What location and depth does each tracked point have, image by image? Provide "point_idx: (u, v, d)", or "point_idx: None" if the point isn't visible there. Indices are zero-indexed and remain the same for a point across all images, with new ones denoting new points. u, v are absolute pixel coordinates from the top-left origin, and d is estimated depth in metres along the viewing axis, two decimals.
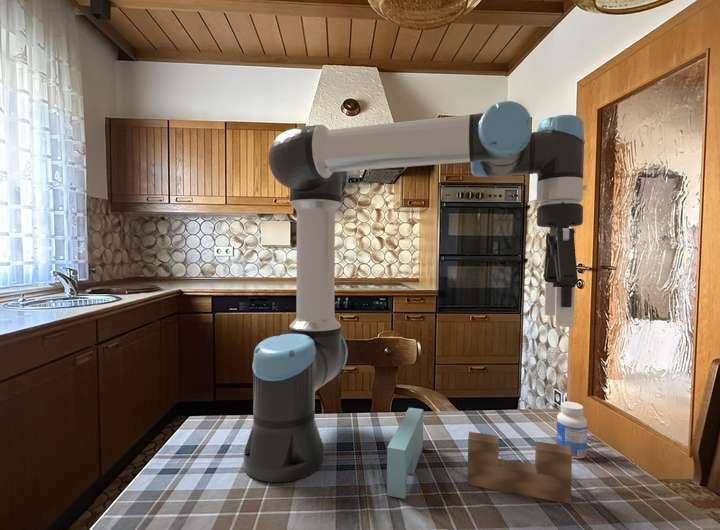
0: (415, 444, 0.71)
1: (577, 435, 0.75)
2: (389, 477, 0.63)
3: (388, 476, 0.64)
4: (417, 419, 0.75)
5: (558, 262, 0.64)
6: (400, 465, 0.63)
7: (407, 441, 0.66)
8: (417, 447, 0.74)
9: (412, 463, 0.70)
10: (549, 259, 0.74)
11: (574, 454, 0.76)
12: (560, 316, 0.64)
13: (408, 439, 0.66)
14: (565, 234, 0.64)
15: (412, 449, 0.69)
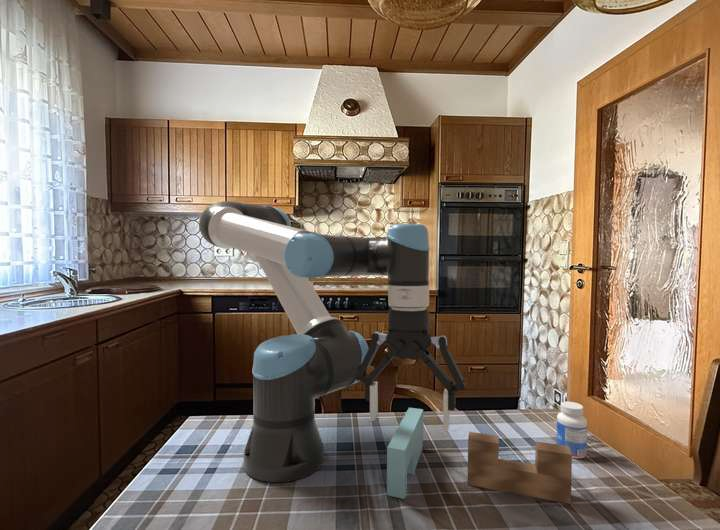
0: (415, 444, 0.71)
1: (577, 435, 0.75)
2: (389, 477, 0.63)
3: (388, 476, 0.64)
4: (417, 419, 0.75)
5: (371, 360, 0.75)
6: (400, 465, 0.63)
7: (407, 441, 0.66)
8: (417, 447, 0.74)
9: (412, 463, 0.70)
10: None
11: (574, 454, 0.76)
12: None
13: (408, 439, 0.66)
14: None
15: (412, 449, 0.69)
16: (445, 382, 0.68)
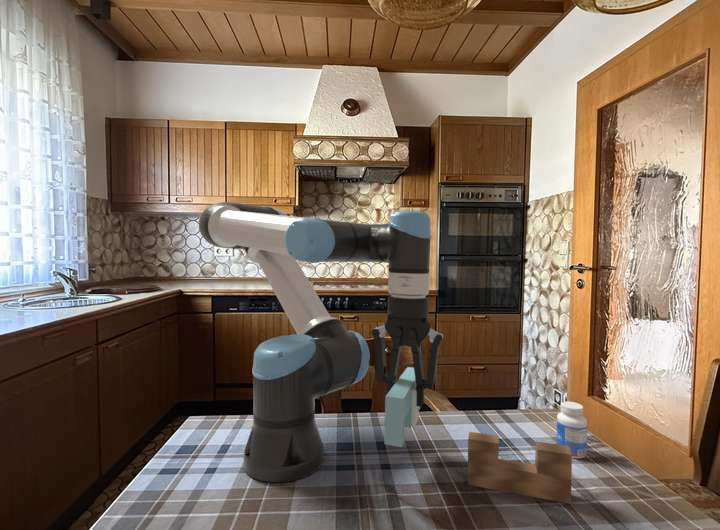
0: None
1: (577, 435, 0.75)
2: (387, 426, 0.64)
3: (386, 425, 0.64)
4: None
5: None
6: (398, 414, 0.63)
7: (405, 392, 0.66)
8: None
9: (410, 417, 0.70)
10: None
11: (574, 454, 0.76)
12: None
13: (406, 390, 0.66)
14: None
15: (410, 402, 0.69)
16: (419, 377, 0.70)
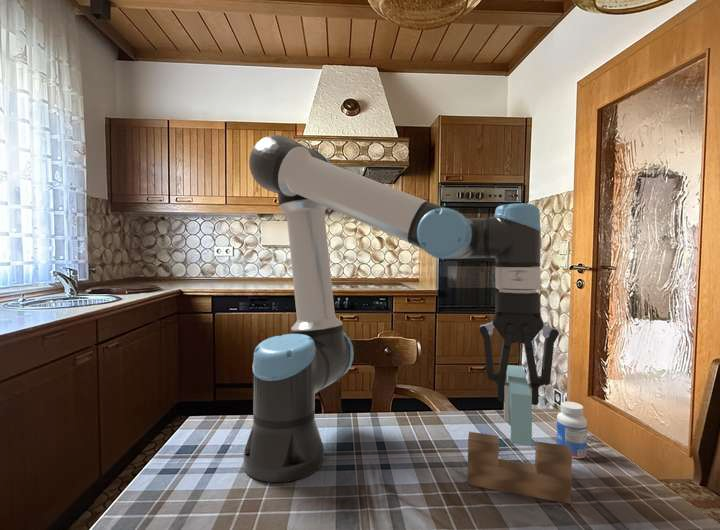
0: None
1: (577, 435, 0.75)
2: (514, 424, 0.61)
3: (513, 423, 0.61)
4: (523, 373, 0.72)
5: (491, 355, 0.72)
6: (527, 412, 0.61)
7: (528, 389, 0.63)
8: None
9: None
10: None
11: (574, 454, 0.76)
12: None
13: (527, 387, 0.64)
14: None
15: None
16: (534, 375, 0.67)
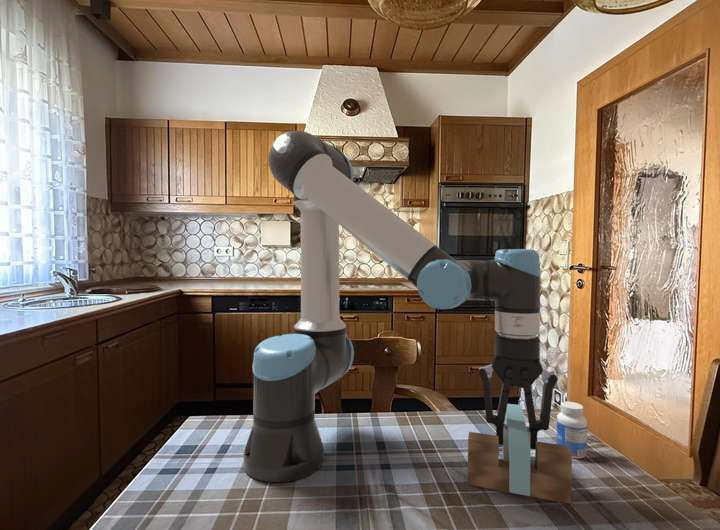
0: None
1: (577, 435, 0.75)
2: (512, 474, 0.61)
3: (511, 473, 0.61)
4: (522, 415, 0.73)
5: None
6: (525, 461, 0.61)
7: (526, 436, 0.64)
8: None
9: None
10: None
11: (574, 454, 0.76)
12: None
13: (526, 434, 0.64)
14: None
15: None
16: (533, 419, 0.68)
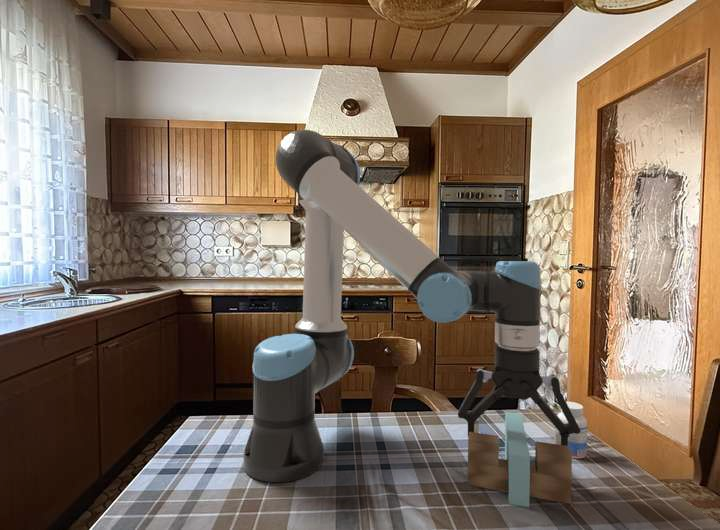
0: None
1: (577, 435, 0.75)
2: (512, 485, 0.61)
3: (510, 484, 0.61)
4: (521, 424, 0.73)
5: None
6: (525, 473, 0.61)
7: (526, 447, 0.64)
8: None
9: None
10: None
11: (574, 454, 0.76)
12: None
13: (526, 445, 0.64)
14: None
15: None
16: (558, 424, 0.66)
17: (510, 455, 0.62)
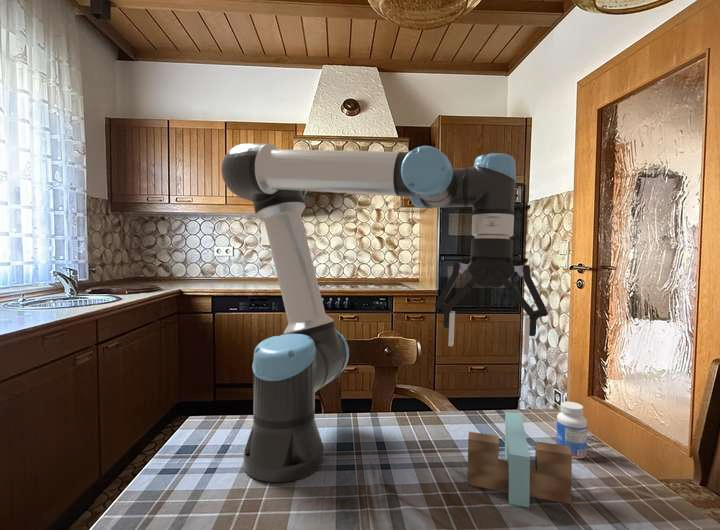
0: None
1: (577, 435, 0.75)
2: (512, 485, 0.61)
3: (510, 484, 0.61)
4: (521, 424, 0.73)
5: (449, 290, 0.77)
6: (525, 473, 0.61)
7: (526, 447, 0.64)
8: None
9: None
10: None
11: (574, 454, 0.76)
12: None
13: (526, 445, 0.64)
14: None
15: None
16: (528, 308, 0.70)
17: (510, 455, 0.62)
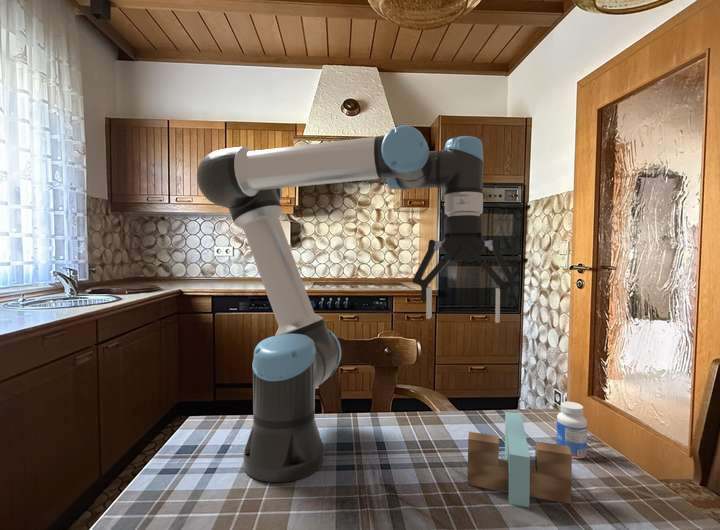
0: None
1: (577, 435, 0.75)
2: (512, 485, 0.61)
3: (510, 484, 0.61)
4: (521, 424, 0.73)
5: (426, 267, 0.82)
6: (525, 473, 0.61)
7: (526, 447, 0.64)
8: None
9: None
10: None
11: (574, 454, 0.76)
12: None
13: (526, 445, 0.64)
14: None
15: None
16: (498, 279, 0.75)
17: (510, 455, 0.62)
